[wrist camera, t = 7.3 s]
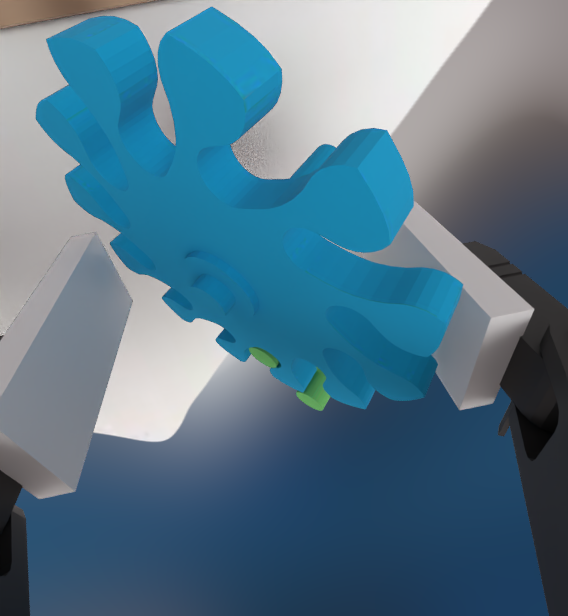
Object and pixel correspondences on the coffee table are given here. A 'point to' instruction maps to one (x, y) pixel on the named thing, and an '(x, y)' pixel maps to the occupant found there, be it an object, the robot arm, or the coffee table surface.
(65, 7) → the hinge board
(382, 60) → the coffee table surface
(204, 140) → the gear
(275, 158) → the coffee table surface
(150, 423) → the coffee table surface
